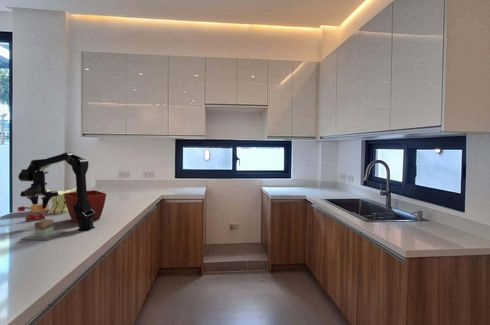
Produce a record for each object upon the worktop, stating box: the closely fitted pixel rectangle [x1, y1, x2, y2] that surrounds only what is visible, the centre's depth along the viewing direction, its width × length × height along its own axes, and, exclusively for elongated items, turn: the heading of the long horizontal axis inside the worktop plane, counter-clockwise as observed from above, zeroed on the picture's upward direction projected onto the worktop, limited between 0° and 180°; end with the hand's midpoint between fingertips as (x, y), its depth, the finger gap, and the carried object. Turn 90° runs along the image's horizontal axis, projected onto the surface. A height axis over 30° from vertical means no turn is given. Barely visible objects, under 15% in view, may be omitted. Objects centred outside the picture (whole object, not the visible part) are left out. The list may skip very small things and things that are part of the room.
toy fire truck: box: [17, 205, 46, 222], centre depth 184 cm, size 3×14×10 cm, turn 141°
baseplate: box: [20, 226, 67, 242], centre depth 155 cm, size 14×14×4 cm
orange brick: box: [30, 202, 49, 213], centre depth 170 cm, size 4×7×4 cm, turn 171°
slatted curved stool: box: [36, 187, 77, 215], centre depth 212 cm, size 30×16×18 cm, turn 113°
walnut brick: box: [34, 218, 54, 231], centre depth 154 cm, size 4×7×4 cm, turn 176°
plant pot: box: [64, 189, 107, 224], centre depth 188 cm, size 19×19×17 cm
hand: (40, 208), depth 170 cm, fingers closed on orange brick, 5 cm apart
